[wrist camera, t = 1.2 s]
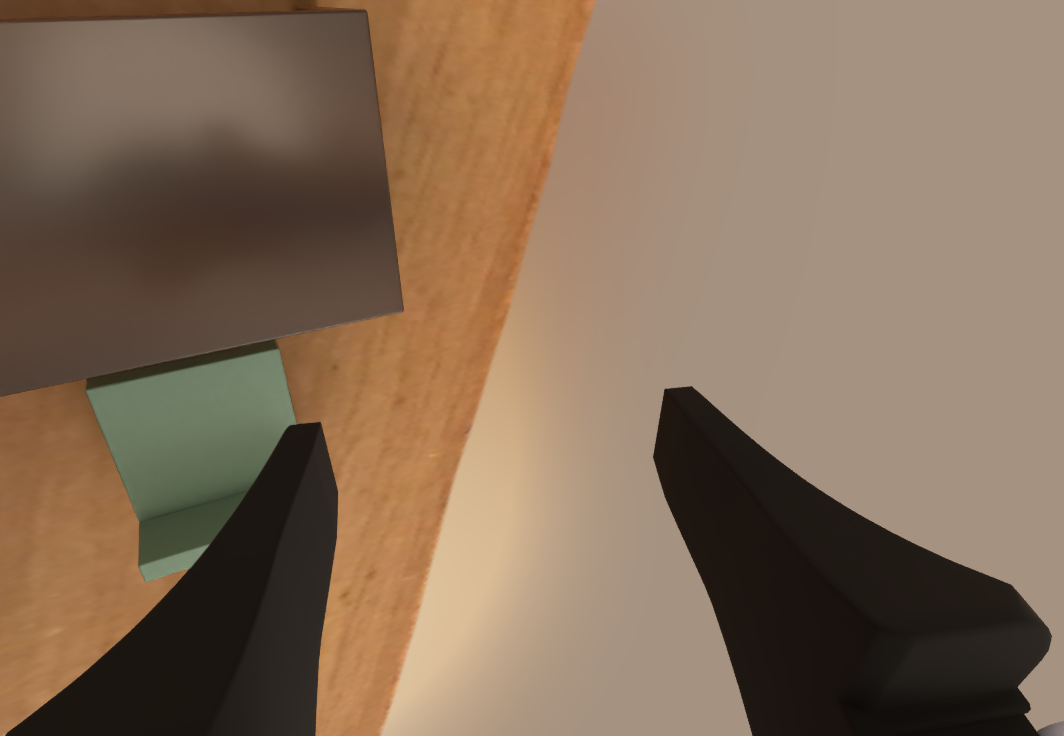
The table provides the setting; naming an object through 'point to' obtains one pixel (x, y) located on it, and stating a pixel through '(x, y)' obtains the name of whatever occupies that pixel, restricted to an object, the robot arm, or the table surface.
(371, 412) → the table surface
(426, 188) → the table surface
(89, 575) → the table surface
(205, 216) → the desk
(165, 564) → the green seat
